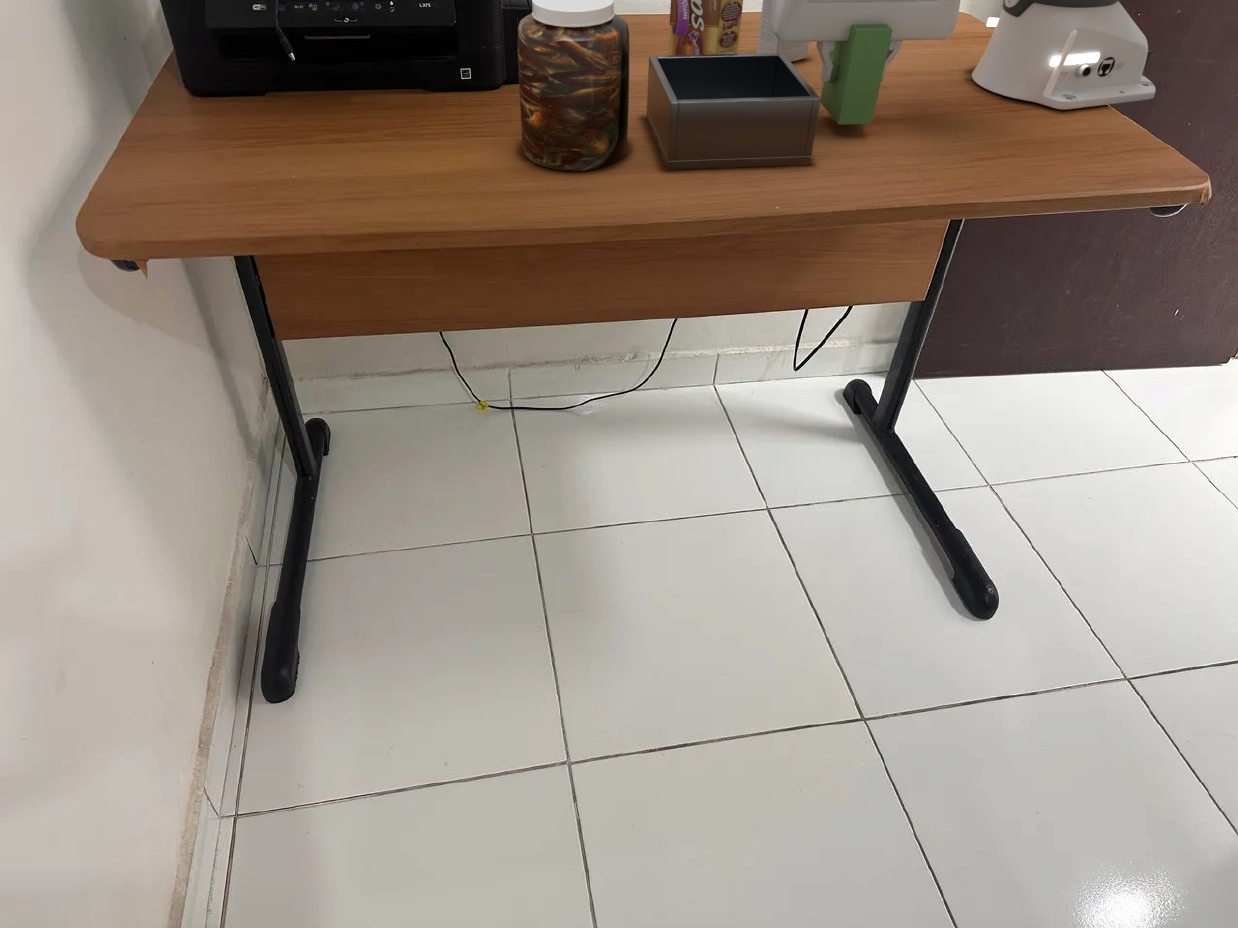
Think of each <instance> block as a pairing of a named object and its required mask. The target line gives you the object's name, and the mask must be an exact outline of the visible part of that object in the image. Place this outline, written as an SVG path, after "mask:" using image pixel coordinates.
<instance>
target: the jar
mask: <svg viewBox="0 0 1238 928" xmlns="http://www.w3.org/2000/svg"><path fill="white" fill-rule="evenodd" d="M531 7H532V8H531V9H532V10H531V13H529V14H527V15H526V16H525V17H523V18H522V19H521V20H520V21H519V23H518V27H517V67H518V70H517V71H518V88H519V90H518V91H519V106H520V107H519V108H520V109H519V110H520V124H521V125H520V127H521V141H522V150H523V154H524V155H525V157H526V158H527V159H528V160H529V161H531V162H532V163H534V164H536V165H539V166H541V167H545V168H547V169H551V170H552V169H553V170H557V171H568V172H569V171H571V172H573V171H574V172H575V171H576V172H579V171H581V172H582V171H590V170H596V169H601V168H605V167H607V166H610V165H613V164H614V163H617V162H618V161H620V160H621V159H623V157H624V156H625V155H626V153H627V151H628V150H627V149H628V136H629V135H628V133H629V102H630V101H629V99H630V98H629V97H630V29H629V24H628V22H627V20H626V19H625V18H623V17H622V16H620V15H618V14H617V13H615V0H531Z"/></svg>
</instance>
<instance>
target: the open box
mask: <svg viewBox="0 0 1238 928" xmlns="http://www.w3.org/2000/svg"><path fill="white" fill-rule="evenodd" d="M820 101H821V96H819V95H818V93H817V92H816V91H815V90H814V88H813V87H812V86H811V85H810V83H809V82H808V81H807V80H806V79H805V77H803V75H802V74H801V73H800V72H799V70H798V69H797V67H795V65H794V64H793V63H792V62H790V61H789V60H788V58H787V57H786V56H785V55H784V54H783V53H757V52H756V53H737V54H709V55H668V54H667V55H665V54H664V55H648V73H647V97H646V120H647V124H648V125H649V128H650V130H651V133H652V135H653V138H654V140H655V143H656V146H657V147H658V150H659V152H660V155H661V157H662V160H663V162H664V165H665V167H666V170H667V171H677V170H678V171H679V170H704V169H705V170H707V169H708V170H709V169H730V168H731V169H732V168H733V169H734V168H760V167H761V168H763V167H787V166H809V165H810V164H811V159H812V154H813V147H814V141H815V136H816V130H817V124H818V123H817V122H818V119H819V113H820V106H821V103H820ZM810 166H811V165H810Z"/></svg>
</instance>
